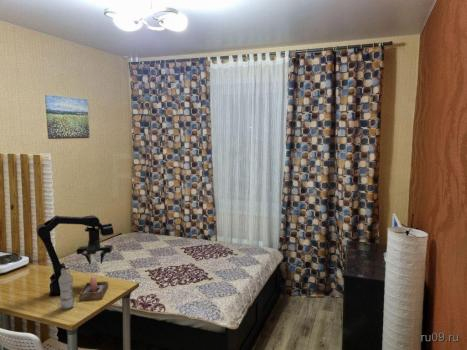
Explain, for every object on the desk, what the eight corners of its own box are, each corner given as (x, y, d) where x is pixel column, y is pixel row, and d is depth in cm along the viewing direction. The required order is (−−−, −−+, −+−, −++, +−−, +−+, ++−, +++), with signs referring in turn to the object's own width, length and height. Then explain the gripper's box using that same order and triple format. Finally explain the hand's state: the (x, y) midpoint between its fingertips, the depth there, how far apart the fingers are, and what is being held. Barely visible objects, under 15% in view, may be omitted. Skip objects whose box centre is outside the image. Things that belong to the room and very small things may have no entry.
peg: (92, 293, 185) (91, 277, 184) (98, 292, 185) (97, 277, 184) (90, 295, 181) (89, 279, 180) (96, 295, 182) (95, 279, 181)
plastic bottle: (63, 304, 172) (60, 266, 170) (76, 304, 172) (74, 266, 170) (57, 311, 166) (55, 271, 163) (71, 310, 166) (69, 271, 164)
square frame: (80, 300, 176) (79, 293, 176) (87, 289, 189) (87, 282, 188) (101, 299, 177) (101, 291, 177) (107, 288, 190) (107, 281, 190)
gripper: (72, 242, 184) (73, 270, 186) (107, 241, 186) (108, 268, 188) (79, 236, 195) (80, 262, 197) (112, 235, 197) (113, 261, 199)
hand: (95, 263), depth 195 cm, fingers open, 6 cm apart
